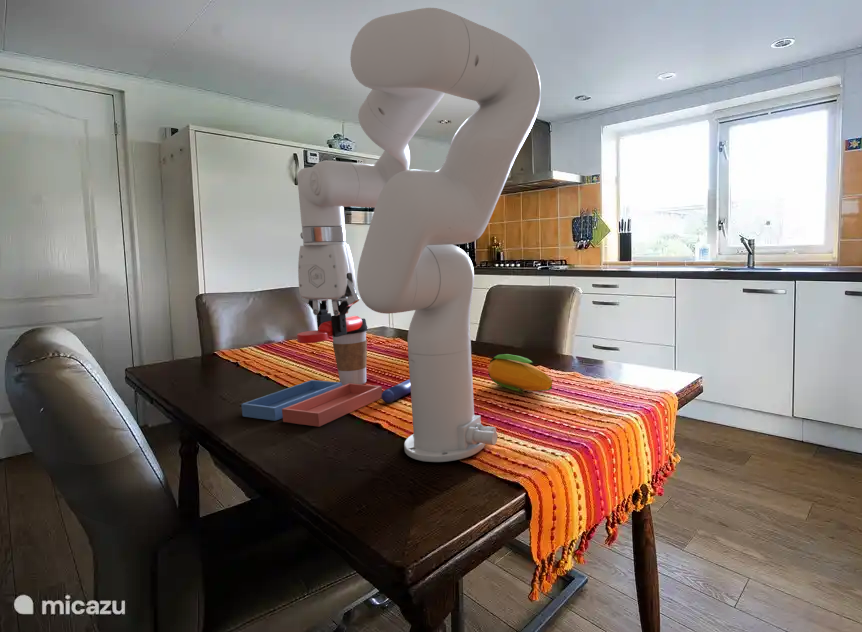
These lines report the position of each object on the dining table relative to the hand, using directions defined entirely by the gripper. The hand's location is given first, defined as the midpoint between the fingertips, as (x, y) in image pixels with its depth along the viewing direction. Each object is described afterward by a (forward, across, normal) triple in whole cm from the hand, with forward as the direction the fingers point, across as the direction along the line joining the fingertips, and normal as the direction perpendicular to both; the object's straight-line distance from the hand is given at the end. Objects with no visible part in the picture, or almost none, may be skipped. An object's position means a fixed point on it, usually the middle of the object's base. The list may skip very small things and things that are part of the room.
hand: (332, 334), depth 96 cm
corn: (+15, +29, +23) cm, 40 cm away
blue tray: (+15, -13, +2) cm, 20 cm away
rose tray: (+15, -2, +2) cm, 16 cm away
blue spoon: (+15, +6, +14) cm, 22 cm away
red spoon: (0, 0, 0) cm, 0 cm away
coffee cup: (+16, -12, +18) cm, 27 cm away
